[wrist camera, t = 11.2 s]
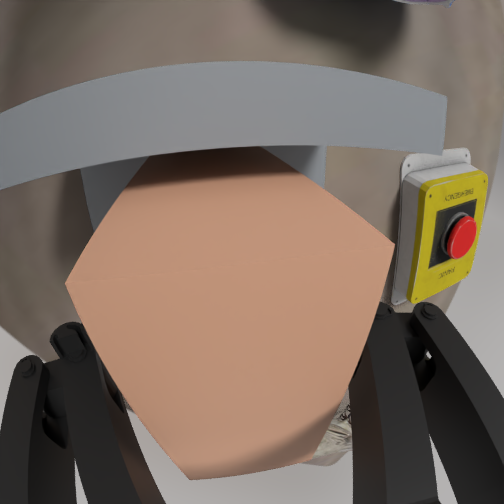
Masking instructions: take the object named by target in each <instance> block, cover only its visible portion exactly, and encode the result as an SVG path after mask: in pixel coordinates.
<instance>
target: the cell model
mask: <svg viewBox="0 0 504 504" xmlns="http://www.w3.org/2000/svg"><path fill="white" fill-rule="evenodd" d="M393 1H397V2H401V3H407V4H432V5H443V6H444V7H446V8H450V6H451V5H452V3H453V1H455V0H393Z"/></svg>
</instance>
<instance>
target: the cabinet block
mask: <svg viewBox="0 0 504 504" xmlns="http://www.w3.org/2000/svg"><path fill="white" fill-rule="evenodd" d="M394 247H395V244H394V243H392V242H391V241H390V240H389V239H388V238H387V237H385V236H384V235H383V234H382V233H380V232H379V231H378V230H377V229H376V228H374V227H373V226H372V225H371V224H369V223H368V222H367V221H365V220H364V219H363V218H362V217H360V216H359V215H358V214H357V213H355V212H354V211H353V210H351V209H350V208H349V207H347V206H346V205H345V204H343V203H342V202H341V201H339V200H338V199H337V198H335V197H334V196H333V195H331V194H330V193H329V192H327V191H326V190H324V189H323V188H322V187H320V186H319V185H317V184H316V183H315V182H313V181H312V180H310V179H309V178H307V177H306V176H305V175H303V174H302V173H300V172H299V171H297V170H296V169H294V168H293V167H291V166H290V165H288V164H287V163H285V162H284V161H282V160H281V159H279V158H278V157H276V156H275V155H273V154H272V153H270V152H268V151H267V150H265V149H264V148H262V147H261V146H247V147H229V148H215V149H203V150H193V151H183V152H174V153H166V154H158V155H151V156H149V157H148V158H147V160H146V161H145V162H144V163H143V165H142V166H141V167H140V169H139V170H138V171H137V172H136V174H135V175H134V176H133V178H132V179H131V180H130V182H129V183H128V184H127V186H126V187H125V188H124V190H123V191H122V193H121V194H120V195H119V197H118V198H117V200H116V201H115V202H114V204H113V205H112V207H111V208H110V210H109V211H108V213H107V214H106V216H105V217H104V219H103V220H102V222H101V223H100V225H99V226H98V228H97V229H96V231H95V232H94V234H93V236H92V237H91V239H90V240H89V242H88V244H87V245H86V247H85V249H84V250H83V252H82V254H81V255H80V257H79V259H78V260H77V262H76V264H75V266H74V268H73V269H72V271H71V273H70V275H69V277H68V278H67V280H66V282H65V285H66V287H67V290H68V292H69V294H70V297H71V299H72V301H73V304H74V306H75V308H76V310H77V313H78V315H79V317H80V319H81V321H82V323H83V325H84V327H85V329H86V331H87V333H88V335H89V337H90V339H91V341H92V343H93V345H94V347H95V349H96V351H97V352H98V354H99V356H100V358H101V360H102V361H103V363H104V365H105V367H106V368H107V370H108V372H109V373H110V375H111V377H112V378H113V380H114V382H115V383H116V385H117V386H118V388H119V390H120V391H121V393H122V394H123V396H124V397H125V399H126V400H127V402H128V403H129V405H130V406H131V408H132V409H133V411H134V412H135V414H136V415H137V416H138V418H139V419H140V420H141V422H142V423H143V424H144V426H145V427H146V429H147V430H148V431H149V433H150V434H151V435H152V436H153V438H154V439H155V440H156V441H157V443H158V444H159V445H160V447H161V448H162V449H163V450H164V451H165V453H166V454H167V455H168V456H169V457H170V458H171V459H172V461H173V462H174V463H175V464H176V465H177V466H178V468H179V469H180V470H181V471H182V472H183V473H184V474H185V475H186V476H187V478H188V479H189V480H200V479H211V478H221V477H230V476H237V475H244V474H250V473H256V472H261V471H266V470H271V469H276V468H281V467H285V466H289V465H293V464H297V463H301V462H305V461H308V460H311V459H312V457H313V455H314V453H315V452H316V450H317V448H318V446H319V444H320V443H321V441H322V439H323V437H324V435H325V433H326V431H327V429H328V427H329V425H330V423H331V421H332V419H333V417H334V415H335V413H336V411H337V409H338V407H339V405H340V403H341V401H342V398H343V396H344V394H345V392H346V390H347V387H348V385H349V383H350V380H351V378H352V376H353V373H354V371H355V368H356V366H357V364H358V361H359V358H360V356H361V353H362V351H363V348H364V345H365V343H366V340H367V337H368V335H369V332H370V329H371V326H372V323H373V320H374V317H375V314H376V311H377V308H378V305H379V302H380V298H381V295H382V292H383V288H384V285H385V281H386V278H387V274H388V271H389V267H390V263H391V259H392V255H393V251H394Z"/></svg>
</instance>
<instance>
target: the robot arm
mask: <svg viewBox="0 0 504 504" xmlns="http://www.w3.org/2000/svg"><path fill="white" fill-rule="evenodd" d="M50 343H51V345H52V346H53V348H54V349H55V351H56V353H57V354H58V356H59V357H60V359H57V360H54V361H50V362H47V363H43V362H42V360H41V359H40V358H39V357H38V356H35V355H29V356H26V357H24V358H23V359H21V360H20V361H19V362H18V363H17V365H16V367H15V369H14V372H13V376H12V379H11V383H10V387H9V391H8V395H7V399H6V404H5V408H4V414H3V419H2V424H1V430H0V504H77V501H76V487H75V461H76V464H77V468H78V472H79V476H80V479H81V482H82V486H83V489H84V492H85V495H86V498H87V501H88V504H166V503H165V501H164V499H163V497H162V495H161V493H160V491H159V489H158V487H157V485H156V483H155V481H154V479H153V477H152V474H151V472H150V470H149V468H148V465H147V463H146V461H145V458H144V456H143V454H142V451H141V449H140V446H139V444H138V441H137V438H136V436H135V433H134V430H133V427H132V425H131V422H130V419H129V416H128V413H127V410H126V407H125V404H124V400H123V397H122V394H121V392H120V390H119V389H118V387H117V385H116V383H115V382H114V380H113V378H112V377H111V375H110V373H109V372H108V370H107V368H106V367H105V365H104V363H103V361H102V360H101V358H100V356H99V354H98V352H97V351H96V349H95V347H94V345H93V343H92V341H91V339H90V337H89V335H88V333H87V331H86V329H85V327H84V325H83V323H81V324H80V323H77V322H69V323H65V324H63V325H61V326H59V327H58V328H57V329H56V330H55V331H54V332H53V333H52V335H51V338H50ZM428 351H429V353H430V355H431V356H432V357H431V358H430V359H429V358H428V357H427V355H426V353H427V352H428ZM348 387H349V399H350V412H351V428H352V451H353V504H441V503H440V501H439V499H438V493H437V483H436V475H435V467H434V461H433V454H432V448H431V442H430V437H429V434H430V436H431V439H432V441H433V443H434V445H435V448H436V450H437V452H438V455H439V457H440V459H441V462H442V464H443V466H444V469H445V471H446V474H447V476H448V479H449V481H450V484H451V486H452V489H453V492H454V494H455V497H456V500H457V503H458V504H504V398H503V397H502V395H501V394H500V392H499V390H498V389H497V387H496V386H495V384H494V382H493V381H492V379H491V378H490V376H489V375H488V373H487V372H486V370H485V369H484V367H483V366H482V364H481V363H480V361H479V360H478V358H477V357H476V355H475V354H474V353H473V351H472V350H471V349H470V347H469V346H468V344H467V343H466V341H465V340H464V339H463V337H462V336H461V335H460V333H459V332H458V331H457V329H456V328H455V327H454V325H453V324H452V323H451V322H450V320H449V319H448V318H447V317H446V315H445V314H444V313H443V311H442V310H441V309H440V308H439V307H437V306H436V305H434V304H432V303H428V302H420V303H418V304H416V306H415V307H414V309H413V312H412V313H396V312H395V311H394V310H393V308H391V307H390V306H389V305H387V304H385V303H382V302H379V305H378V308H377V311H376V314H375V317H374V320H373V323H372V326H371V329H370V332H369V335H368V337H367V340H366V343H365V345H364V348H363V351H362V353H361V356H360V358H359V361H358V364H357V366H356V368H355V371H354V373H353V376H352V378H351V380H350V383H349V385H348Z"/></svg>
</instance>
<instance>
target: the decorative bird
mask: <svg viewBox="0 0 504 504" xmlns="http://www.w3.org/2000/svg"><path fill="white" fill-rule="evenodd" d="M348 406H349V405H348ZM349 408H350V406H349ZM348 411H349V412H350V410H348ZM350 415H351V413H350V414H349V415H348V417H347V416H346V413H345V416H343V414H342V417H343V418H344V419H342V420H343V421H339V420H336V419H332V421H331V423H330V425H329V427H328V429H327V431H326V433H325V435H324V437H323V439H322V441H321V443H320V444H319V446H318V448H317V450H316V452H315V453H314V455H313V457H312V458H317V457H322V456H326V455H330V454H333V453H336V452H345V451H352V430H351V428H350V427H349V426H348V424H347V422H349V424H351V422H350V419H349V418H350Z"/></svg>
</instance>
